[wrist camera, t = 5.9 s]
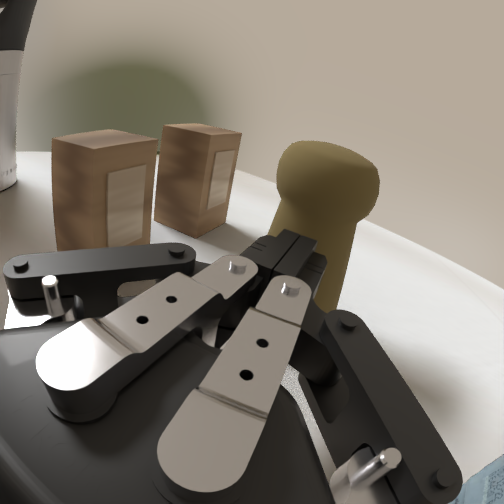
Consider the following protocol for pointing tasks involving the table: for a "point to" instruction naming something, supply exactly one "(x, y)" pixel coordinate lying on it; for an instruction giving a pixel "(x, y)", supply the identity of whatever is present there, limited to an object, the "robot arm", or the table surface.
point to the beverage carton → (484, 486)
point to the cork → (325, 205)
